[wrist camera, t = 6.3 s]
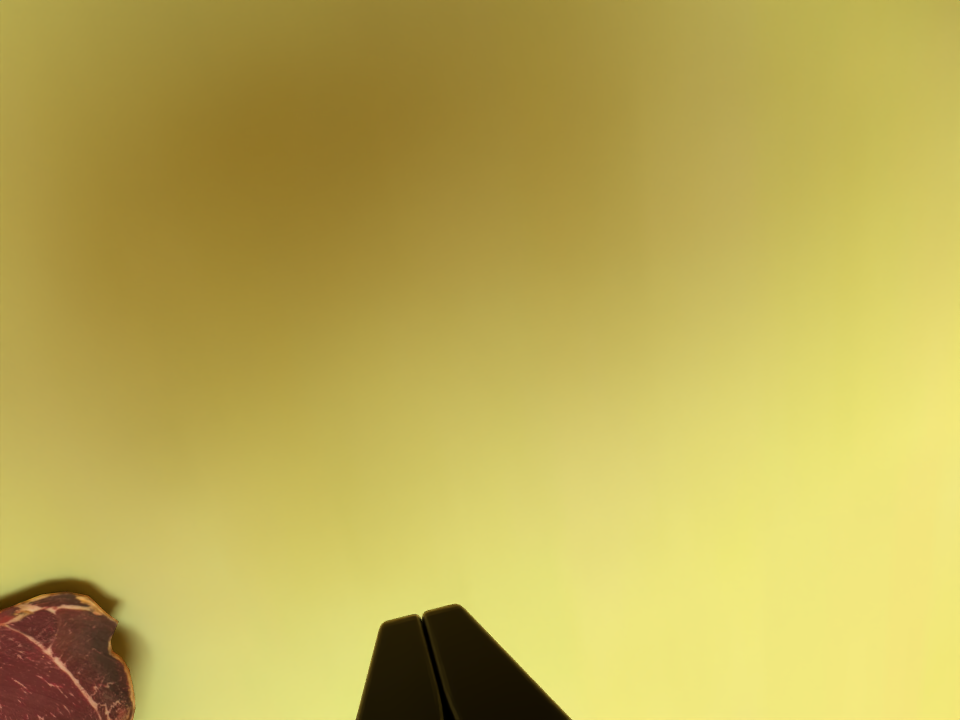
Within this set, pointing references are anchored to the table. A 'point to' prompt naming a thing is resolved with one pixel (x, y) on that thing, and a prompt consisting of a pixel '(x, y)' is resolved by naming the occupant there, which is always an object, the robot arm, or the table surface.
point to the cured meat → (61, 662)
